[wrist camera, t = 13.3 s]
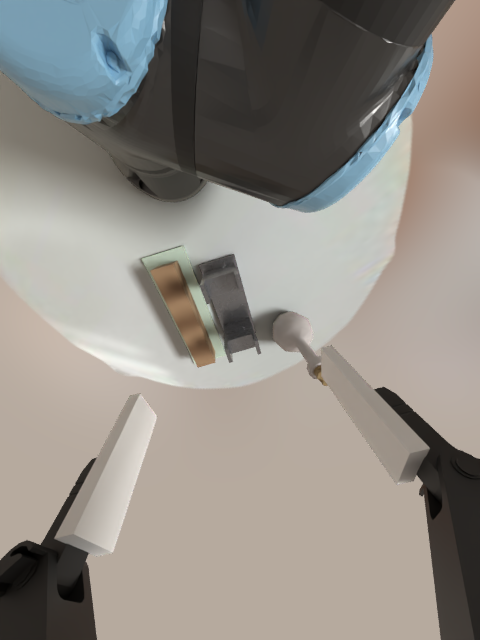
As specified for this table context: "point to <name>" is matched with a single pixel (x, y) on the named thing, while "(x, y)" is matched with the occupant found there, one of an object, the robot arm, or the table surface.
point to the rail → (184, 311)
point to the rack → (229, 304)
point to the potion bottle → (297, 340)
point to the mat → (182, 258)
